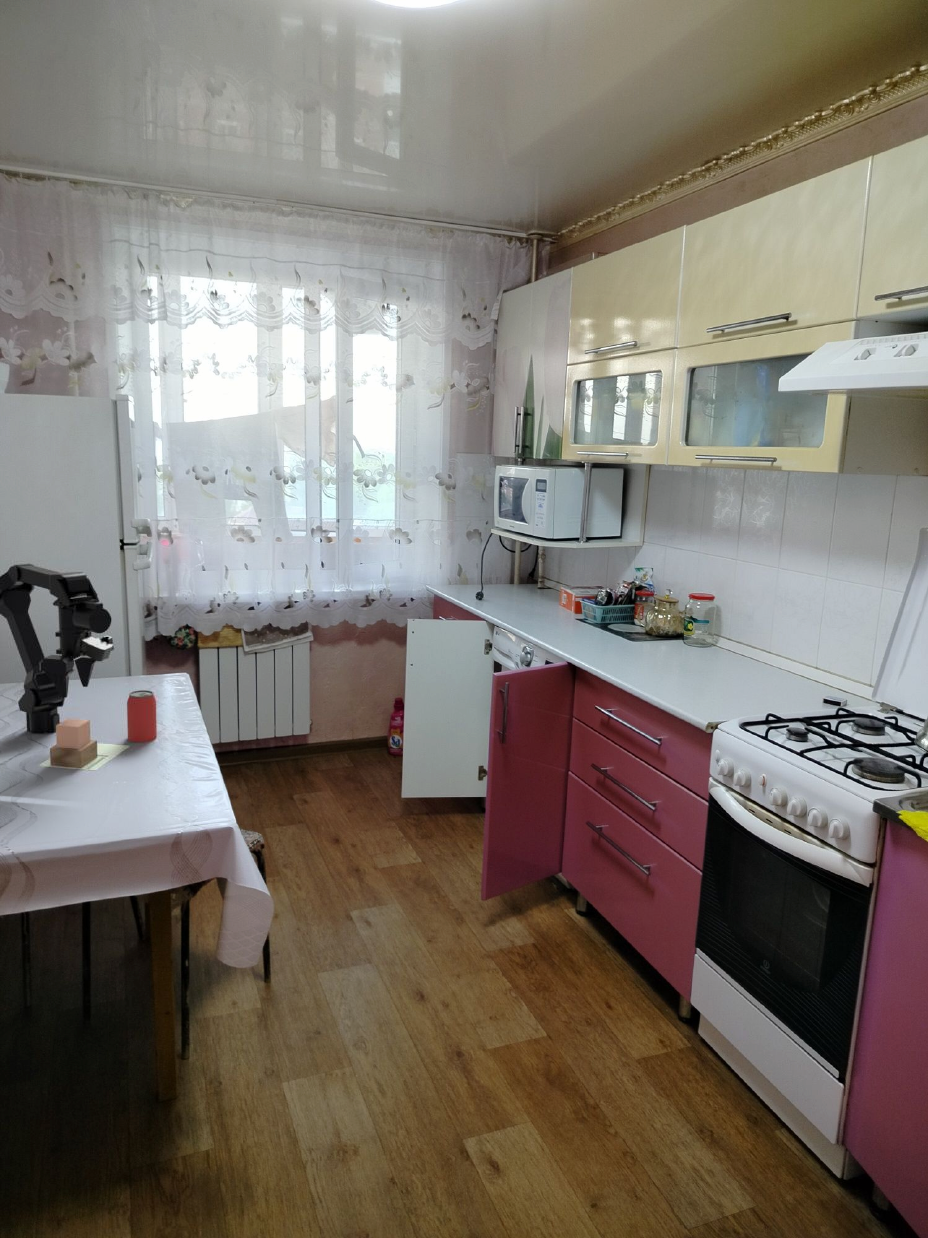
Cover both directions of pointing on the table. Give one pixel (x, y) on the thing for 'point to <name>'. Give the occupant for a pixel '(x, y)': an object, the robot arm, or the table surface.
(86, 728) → the cube
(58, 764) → the base block
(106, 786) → the table surface
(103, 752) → the cream mat
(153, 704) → the beer can
